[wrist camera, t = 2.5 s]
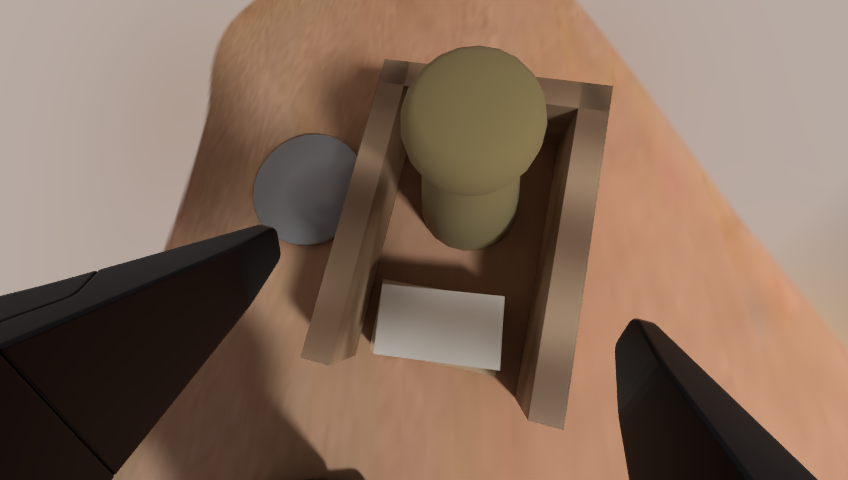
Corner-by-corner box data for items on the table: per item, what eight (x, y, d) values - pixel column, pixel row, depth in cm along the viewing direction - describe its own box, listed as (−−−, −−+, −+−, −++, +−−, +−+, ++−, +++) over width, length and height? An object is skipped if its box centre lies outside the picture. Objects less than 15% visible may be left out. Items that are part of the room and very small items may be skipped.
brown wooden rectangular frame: (543, 405, 19) (563, 430, 15) (331, 348, 21) (300, 357, 17) (586, 127, 22) (612, 86, 18) (398, 101, 24) (384, 58, 20)
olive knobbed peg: (521, 162, 22) (577, 14, 11) (514, 256, 20) (568, 193, 10) (427, 155, 22) (393, 12, 12) (415, 245, 21) (364, 177, 11)
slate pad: (371, 236, 22) (369, 234, 21) (258, 253, 22) (253, 251, 22) (361, 129, 23) (359, 125, 23) (256, 147, 24) (252, 144, 24)
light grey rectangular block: (493, 371, 20) (498, 381, 17) (375, 347, 21) (361, 352, 18) (503, 299, 20) (509, 297, 17) (389, 279, 21) (377, 274, 18)
